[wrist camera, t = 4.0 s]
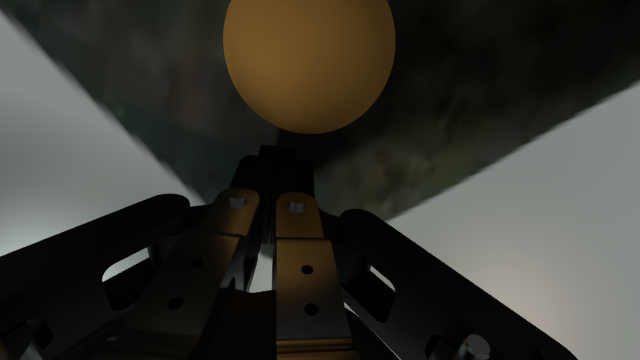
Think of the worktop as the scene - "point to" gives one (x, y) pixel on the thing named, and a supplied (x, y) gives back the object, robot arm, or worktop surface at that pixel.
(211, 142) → the worktop surface
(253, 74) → the ball
